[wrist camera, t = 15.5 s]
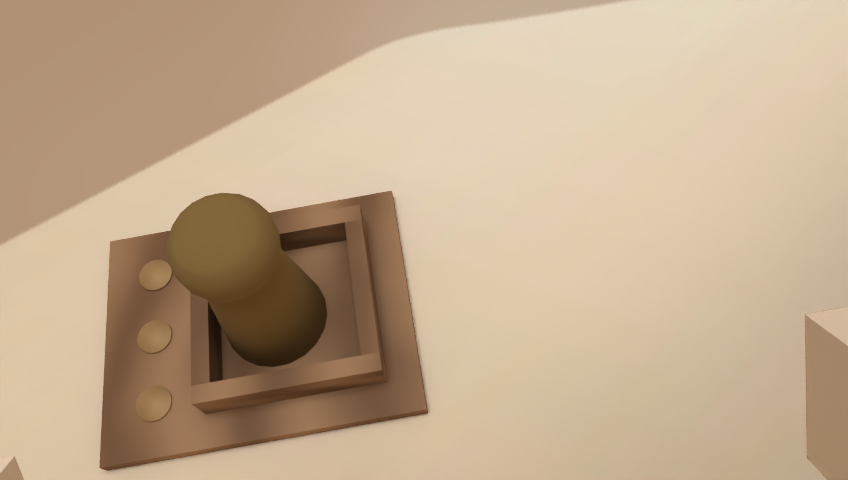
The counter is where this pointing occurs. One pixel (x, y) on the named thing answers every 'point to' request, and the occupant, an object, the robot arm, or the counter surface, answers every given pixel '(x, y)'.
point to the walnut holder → (244, 381)
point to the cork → (247, 279)
